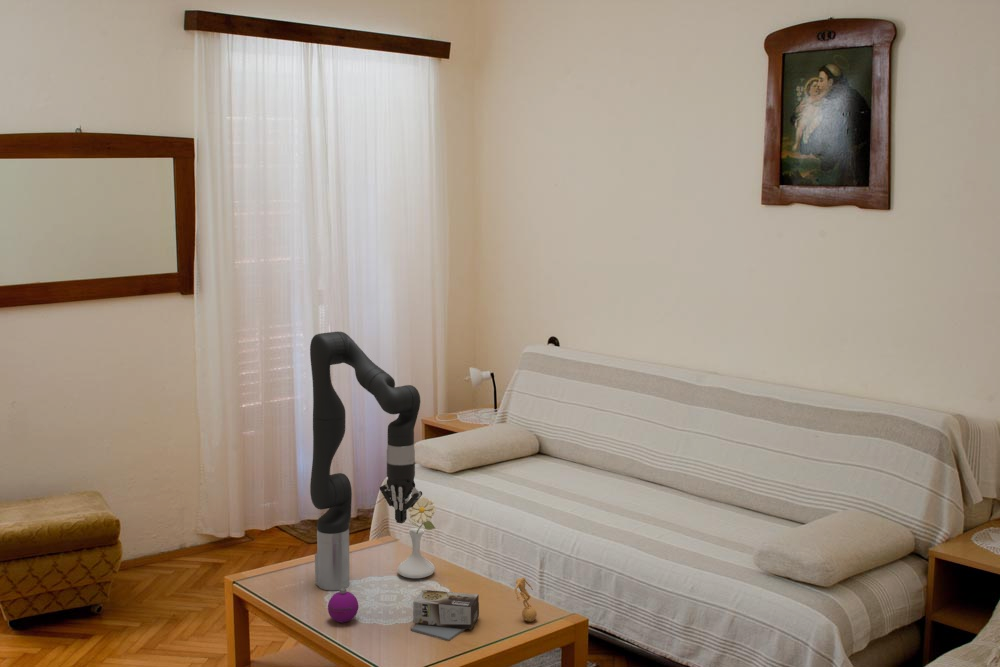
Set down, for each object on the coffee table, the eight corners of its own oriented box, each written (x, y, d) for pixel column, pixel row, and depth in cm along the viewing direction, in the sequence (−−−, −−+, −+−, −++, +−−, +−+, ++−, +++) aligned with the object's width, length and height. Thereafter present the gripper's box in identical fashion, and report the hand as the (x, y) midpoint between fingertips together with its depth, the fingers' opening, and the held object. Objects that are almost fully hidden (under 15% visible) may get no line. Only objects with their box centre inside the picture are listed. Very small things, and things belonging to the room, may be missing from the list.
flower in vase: (389, 576, 303) (388, 496, 299) (413, 564, 312) (413, 487, 308) (423, 586, 295) (422, 504, 292) (446, 574, 305) (447, 494, 301)
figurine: (528, 628, 268) (529, 585, 266) (508, 623, 271) (509, 581, 269) (542, 616, 275) (543, 575, 273) (523, 612, 278) (523, 570, 276)
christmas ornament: (362, 616, 275) (362, 581, 273) (352, 628, 267) (351, 593, 265) (334, 613, 276) (334, 578, 275) (323, 626, 268) (322, 590, 267)
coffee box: (412, 624, 268) (471, 630, 265) (412, 601, 267) (471, 607, 264) (422, 610, 277) (479, 616, 274) (422, 588, 276) (479, 594, 273)
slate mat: (410, 630, 266) (410, 628, 266) (433, 615, 275) (433, 613, 275) (448, 641, 260) (448, 638, 260) (471, 625, 269) (471, 623, 269)
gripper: (372, 459, 268) (372, 522, 271) (413, 467, 261) (413, 531, 264) (389, 453, 274) (389, 514, 277) (429, 460, 268) (429, 522, 270)
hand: (400, 522), depth 270 cm, fingers closed
